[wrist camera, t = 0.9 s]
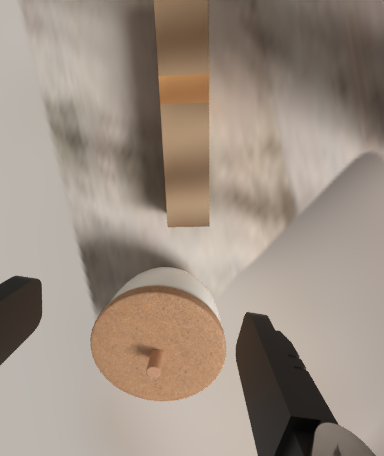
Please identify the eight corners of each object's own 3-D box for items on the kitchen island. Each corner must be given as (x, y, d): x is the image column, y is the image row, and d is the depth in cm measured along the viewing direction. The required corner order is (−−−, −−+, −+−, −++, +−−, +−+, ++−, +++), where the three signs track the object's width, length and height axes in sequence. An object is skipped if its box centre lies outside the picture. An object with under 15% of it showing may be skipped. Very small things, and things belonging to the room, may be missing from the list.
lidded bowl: (169, 347, 30) (154, 444, 20) (104, 291, 28) (47, 366, 17) (237, 298, 28) (261, 378, 17) (171, 230, 25) (151, 276, 15)
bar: (163, 31, 20) (152, -13, 15) (206, 28, 20) (208, -16, 15) (173, 215, 25) (167, 227, 20) (207, 215, 25) (209, 226, 20)
